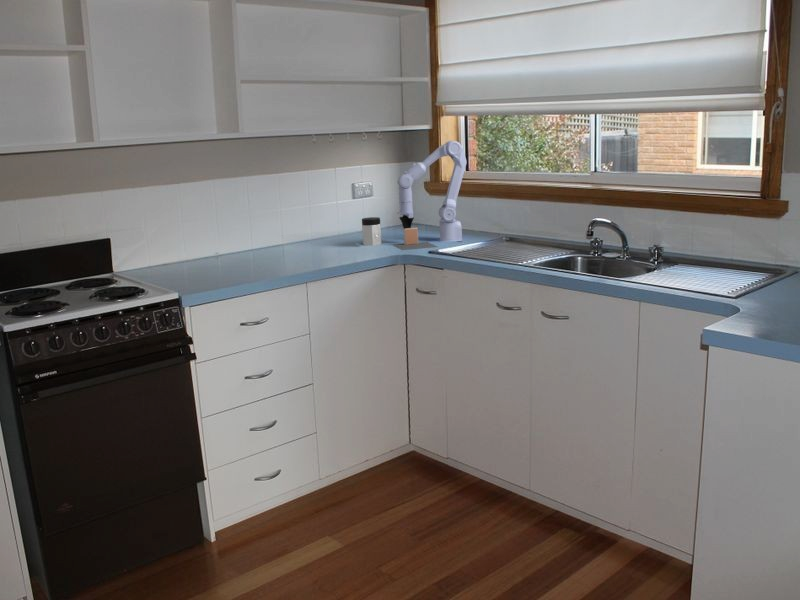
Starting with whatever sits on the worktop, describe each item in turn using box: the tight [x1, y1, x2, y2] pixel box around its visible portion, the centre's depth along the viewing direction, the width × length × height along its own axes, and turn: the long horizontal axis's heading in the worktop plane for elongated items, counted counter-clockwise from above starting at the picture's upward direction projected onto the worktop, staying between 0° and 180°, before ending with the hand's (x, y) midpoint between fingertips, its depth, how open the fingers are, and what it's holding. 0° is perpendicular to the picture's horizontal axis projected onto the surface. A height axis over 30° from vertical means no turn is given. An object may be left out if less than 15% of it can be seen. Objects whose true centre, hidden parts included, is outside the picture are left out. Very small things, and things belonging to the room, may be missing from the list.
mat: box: [392, 241, 439, 251], centre depth 347 cm, size 16×16×1 cm
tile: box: [403, 227, 419, 245], centre depth 351 cm, size 6×2×7 cm, turn 106°
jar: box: [361, 216, 382, 246], centre depth 357 cm, size 9×8×12 cm
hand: (407, 232), depth 357 cm, fingers closed
